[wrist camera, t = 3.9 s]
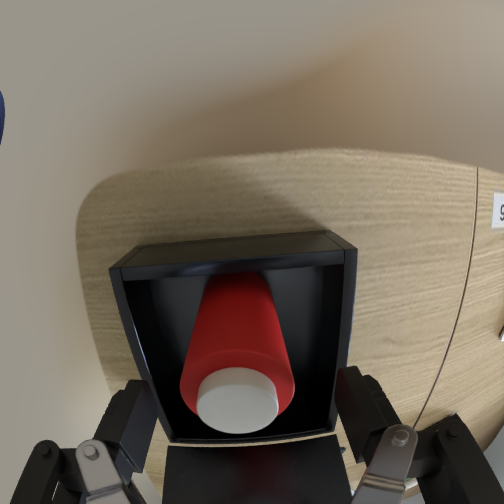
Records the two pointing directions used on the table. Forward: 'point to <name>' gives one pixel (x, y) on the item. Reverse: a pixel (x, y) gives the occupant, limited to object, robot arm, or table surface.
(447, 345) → the table surface
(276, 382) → the sauce bottle
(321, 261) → the black box
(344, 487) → the box lid
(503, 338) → the cell phone
